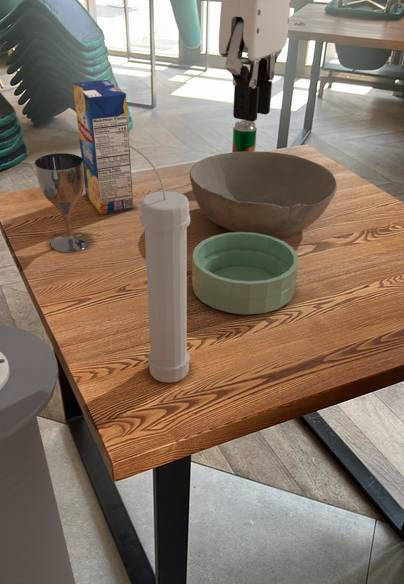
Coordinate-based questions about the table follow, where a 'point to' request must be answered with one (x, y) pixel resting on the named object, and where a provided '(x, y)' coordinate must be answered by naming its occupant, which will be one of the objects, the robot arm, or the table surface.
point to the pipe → (166, 281)
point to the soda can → (244, 136)
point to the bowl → (262, 191)
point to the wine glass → (63, 193)
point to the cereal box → (104, 144)
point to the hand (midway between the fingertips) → (251, 114)
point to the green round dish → (244, 272)
